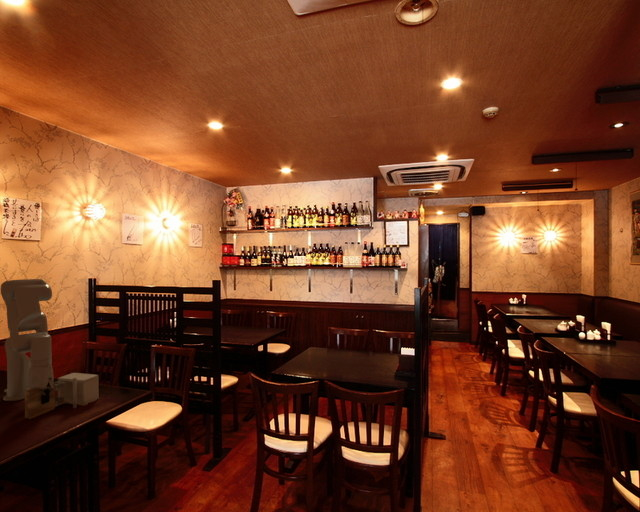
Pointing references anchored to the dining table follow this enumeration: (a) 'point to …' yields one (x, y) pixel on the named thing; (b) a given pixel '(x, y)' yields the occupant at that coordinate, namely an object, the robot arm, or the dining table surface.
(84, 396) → the white box
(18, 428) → the dining table surface
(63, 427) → the dining table surface
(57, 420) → the dining table surface
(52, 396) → the door
